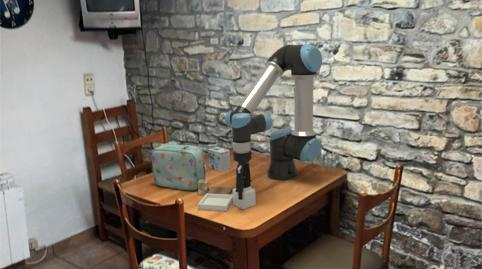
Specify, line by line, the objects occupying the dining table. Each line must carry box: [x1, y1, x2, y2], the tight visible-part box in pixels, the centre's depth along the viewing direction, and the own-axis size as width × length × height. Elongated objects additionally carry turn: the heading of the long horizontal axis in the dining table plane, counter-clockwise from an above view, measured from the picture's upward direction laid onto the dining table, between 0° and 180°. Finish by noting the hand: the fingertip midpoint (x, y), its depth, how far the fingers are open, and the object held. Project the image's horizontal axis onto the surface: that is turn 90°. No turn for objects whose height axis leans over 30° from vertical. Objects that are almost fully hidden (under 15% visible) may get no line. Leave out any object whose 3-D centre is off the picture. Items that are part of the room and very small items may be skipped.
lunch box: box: [151, 142, 207, 191], centre depth 215 cm, size 27×10×21 cm, turn 66°
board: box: [207, 186, 234, 195], centre depth 205 cm, size 10×8×2 cm
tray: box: [197, 193, 233, 212], centre depth 193 cm, size 13×13×2 cm
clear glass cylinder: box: [197, 179, 210, 196], centre depth 206 cm, size 4×4×6 cm
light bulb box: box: [207, 146, 231, 173], centre depth 241 cm, size 11×7×11 cm, turn 42°
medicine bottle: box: [232, 177, 257, 210], centre depth 191 cm, size 7×7×12 cm
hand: (244, 201), depth 192 cm, fingers closed on medicine bottle, 10 cm apart
